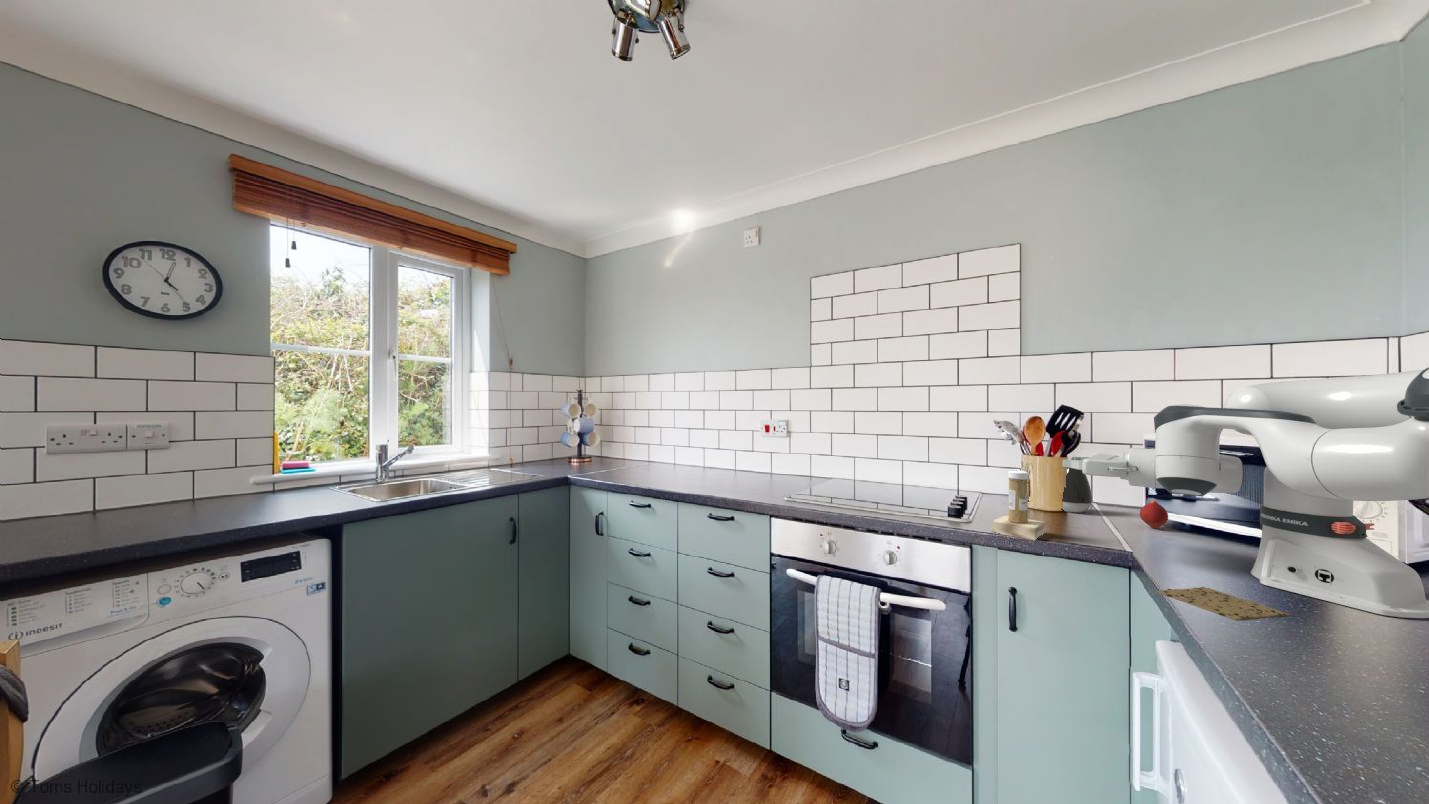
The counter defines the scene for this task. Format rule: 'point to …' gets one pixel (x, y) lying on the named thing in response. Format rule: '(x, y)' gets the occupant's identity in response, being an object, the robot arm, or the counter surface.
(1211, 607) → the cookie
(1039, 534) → the block
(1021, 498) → the sprinkles bottle
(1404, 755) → the counter surface
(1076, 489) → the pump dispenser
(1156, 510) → the onion
